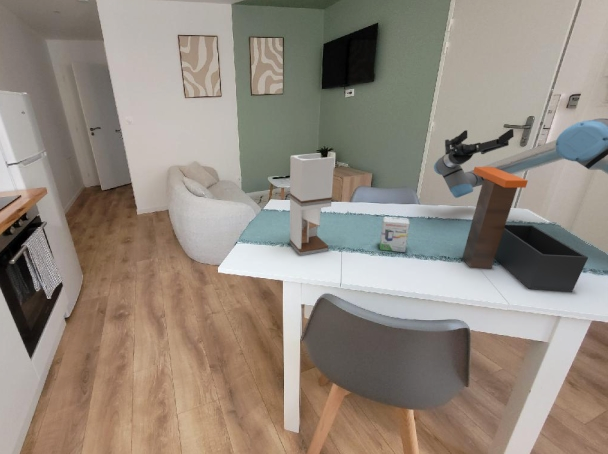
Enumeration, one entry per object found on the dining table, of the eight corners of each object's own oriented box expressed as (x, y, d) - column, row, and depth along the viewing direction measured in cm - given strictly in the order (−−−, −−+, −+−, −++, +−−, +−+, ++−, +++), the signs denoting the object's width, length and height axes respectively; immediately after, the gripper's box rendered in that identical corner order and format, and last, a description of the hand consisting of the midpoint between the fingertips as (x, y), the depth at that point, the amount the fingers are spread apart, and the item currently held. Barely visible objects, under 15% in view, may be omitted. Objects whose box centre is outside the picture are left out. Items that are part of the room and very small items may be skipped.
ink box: (403, 246, 110) (409, 217, 105) (405, 253, 105) (410, 223, 101) (379, 244, 113) (383, 215, 108) (379, 250, 108) (383, 220, 104)
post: (461, 258, 100) (483, 178, 89) (481, 259, 99) (506, 178, 88) (470, 267, 95) (494, 183, 84) (491, 268, 93) (518, 183, 82)
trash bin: (488, 252, 103) (496, 224, 99) (521, 254, 101) (532, 225, 96) (528, 288, 83) (542, 255, 79) (572, 292, 81) (588, 257, 76)
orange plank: (473, 172, 96) (474, 166, 95) (490, 172, 95) (492, 166, 94) (504, 187, 80) (506, 180, 79) (525, 187, 79) (528, 180, 78)
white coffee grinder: (300, 255, 108) (302, 160, 94) (289, 243, 117) (290, 155, 104) (328, 250, 110) (334, 157, 96) (315, 239, 120) (319, 153, 106)
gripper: (424, 147, 123) (447, 124, 102) (492, 146, 117) (531, 121, 97) (424, 164, 122) (447, 144, 101) (493, 164, 116) (532, 143, 96)
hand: (488, 133), depth 99 cm, fingers open, 13 cm apart
